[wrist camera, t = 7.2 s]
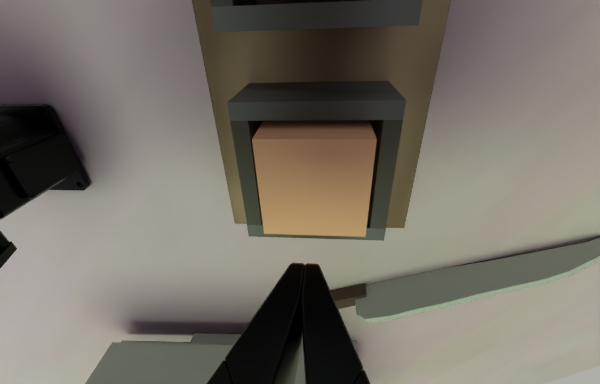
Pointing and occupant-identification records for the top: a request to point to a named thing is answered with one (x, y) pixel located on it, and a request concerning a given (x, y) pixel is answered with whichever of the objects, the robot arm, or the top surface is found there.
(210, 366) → the toaster
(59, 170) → the robot arm
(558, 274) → the kitchen knife
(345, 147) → the terracotta button
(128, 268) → the top surface
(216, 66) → the button board
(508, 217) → the top surface
